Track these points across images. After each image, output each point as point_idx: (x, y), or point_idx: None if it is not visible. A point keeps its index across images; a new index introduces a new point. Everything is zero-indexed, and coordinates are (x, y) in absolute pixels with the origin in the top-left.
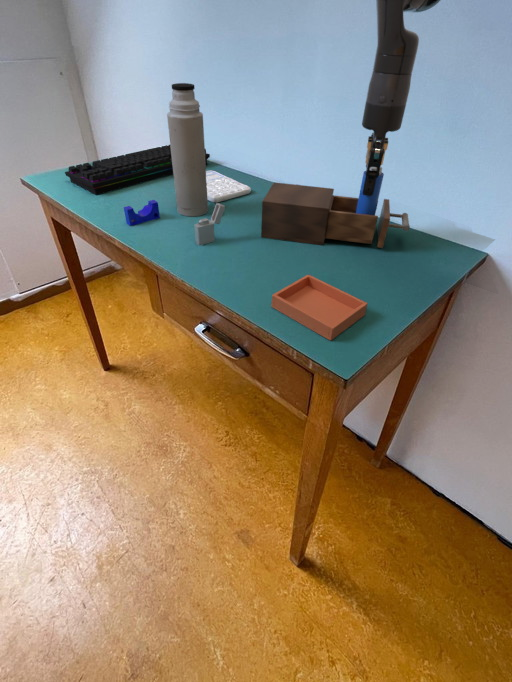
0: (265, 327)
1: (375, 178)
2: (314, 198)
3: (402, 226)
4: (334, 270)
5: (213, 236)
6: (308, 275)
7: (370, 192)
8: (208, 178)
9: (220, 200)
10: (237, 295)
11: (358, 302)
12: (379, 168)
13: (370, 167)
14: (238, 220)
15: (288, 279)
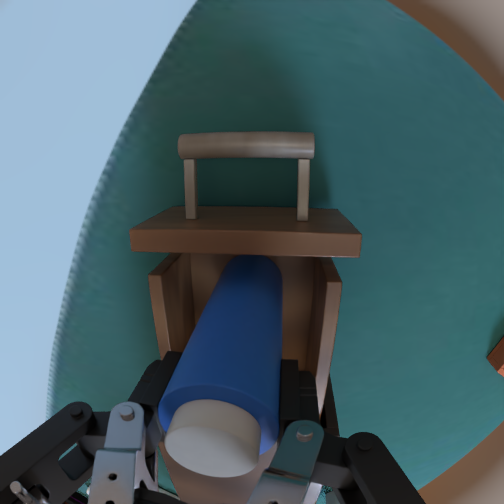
0: None
1: (298, 420)
2: (261, 464)
3: (309, 160)
4: (443, 323)
5: (336, 497)
6: (500, 370)
7: (313, 379)
8: None
9: (178, 498)
10: (486, 423)
11: None
12: (405, 479)
13: (225, 470)
14: None
15: (464, 387)
